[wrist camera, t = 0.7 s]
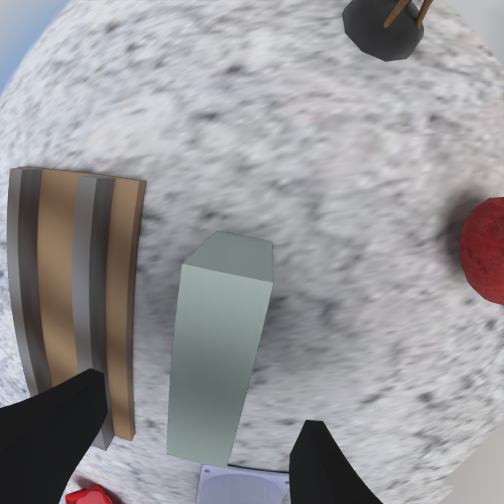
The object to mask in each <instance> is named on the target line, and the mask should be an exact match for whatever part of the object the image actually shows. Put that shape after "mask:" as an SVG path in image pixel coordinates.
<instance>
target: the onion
mask: <svg viewBox="0 0 504 504" xmlns="http://www.w3.org/2000/svg"><path fill="white" fill-rule="evenodd" d="M459 249H460V259H461V264H462V268H463V270H464V273H465V276H466V278H467V281H468V283H469V284H470V285H471V286H472V288H473V289H474V290H475V291H476V292H478V293H479V294H480V295H481V296H482V297H483V298H484V299H486V300H488V301H490V302H493V303H497V304H501V305H504V197H498V198H489V199H487V200H486V201H485V202H483V203H482V204H480V205H479V206H477V207H476V208H475V209H473V210H472V211H471V212H470V214H469V216H468V217H467V219H466V221H465V222H464V224H463V226H462V231H461V236H460V241H459Z"/></svg>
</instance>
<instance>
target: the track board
mask: <svg viewBox="0 0 504 504" xmlns="http://www.w3.org/2000/svg"><path fill="white" fill-rule="evenodd" d="M145 185H146V181H142V180H135V179H128V178H121V177H113V176H106V175H98V174H90V173H82V172H74V171H65V170H55V169H46V168H35V167H17V168H12V169H10V178H9V189H8V205H7V262H8V278H9V289H10V299H11V307H12V314H13V321H14V327H15V333H16V338H17V344H18V349H19V353H20V358H21V362H22V366H23V371H24V375H25V378H26V382H27V386H28V389H29V393H30V396H31V397H33V396H35V395H38V394H40V393H42V392H44V391H47V390H49V389H51V388H53V387H55V386H57V385H59V384H60V383H62V382H64V381H66V380H68V379H70V378H72V377H74V376H76V375H77V374H79V373H81V372H83V371H85V370H87V369H89V368H91V369H94V370H97V371H99V372H102V373H104V377H105V388H106V397H107V405H108V414H107V416H106V418H105V420H104V423H103V425H102V427H101V429H100V431H99V433H98V435H97V436H96V438H95V439H94V441H93V443H92V444H93V446H95V447H97V448H100V449H102V450H105V451H106V450H107V448H108V447H109V445H110V443H111V441H112V439H113V438H114V436H118V437H121V438H124V439H126V440H129V441H132V439H133V437H134V435H135V425H134V408H133V383H132V328H133V302H134V285H135V271H136V259H137V248H138V239H139V230H140V221H141V213H142V206H143V199H144V192H145Z"/></svg>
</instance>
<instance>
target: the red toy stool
mask: <svg viewBox="0 0 504 504" xmlns="http://www.w3.org/2000/svg"><path fill="white" fill-rule="evenodd" d="M65 502H66V504H112V501H111V500H110V498H109V497H108V496H107V495H106V494H105V493H104V489H103V488H102V487H99V486H98V485H93V488H91V489H88V490H86V489H81V490H78V491H75V492H72V493H69V494H67V495H66V496H65Z"/></svg>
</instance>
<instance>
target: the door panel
mask: <svg viewBox="0 0 504 504" xmlns="http://www.w3.org/2000/svg"><path fill="white" fill-rule="evenodd" d="M272 287H273V256H272V242H271V241H266V240H261V239H256V238H251V237H246V236H242V235H237V234H232V233H227V232H222V231H216V232H215V233H214V234H213V235H212V236H211V237H210V238H209V239H208V240H207V241H206V242H205V243H204V244H202V245H201V246H200V247H199V248H198V249H197V250H196V251H195V252H194V253H193V254H192V255H191V256H190V257H189V258H188V259H187V260H186V261H184V262H183V263H182V268H181V276H180V284H179V292H178V300H177V309H176V319H175V328H174V339H173V350H172V362H171V375H170V390H169V407H168V430H167V454H168V455H171V456H175V457H179V458H182V459H186V460H191V461H195V462H199V463H204V464H208V465H213V466H218V467H223V468H227V465H228V461H229V457H230V454H231V450H232V447H233V443H234V439H235V435H236V432H237V428H238V424H239V421H240V417H241V413H242V409H243V405H244V402H245V398H246V394H247V390H248V386H249V382H250V378H251V374H252V370H253V366H254V362H255V358H256V354H257V350H258V346H259V342H260V338H261V334H262V330H263V325H264V321H265V317H266V313H267V309H268V304H269V300H270V296H271V292H272Z"/></svg>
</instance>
